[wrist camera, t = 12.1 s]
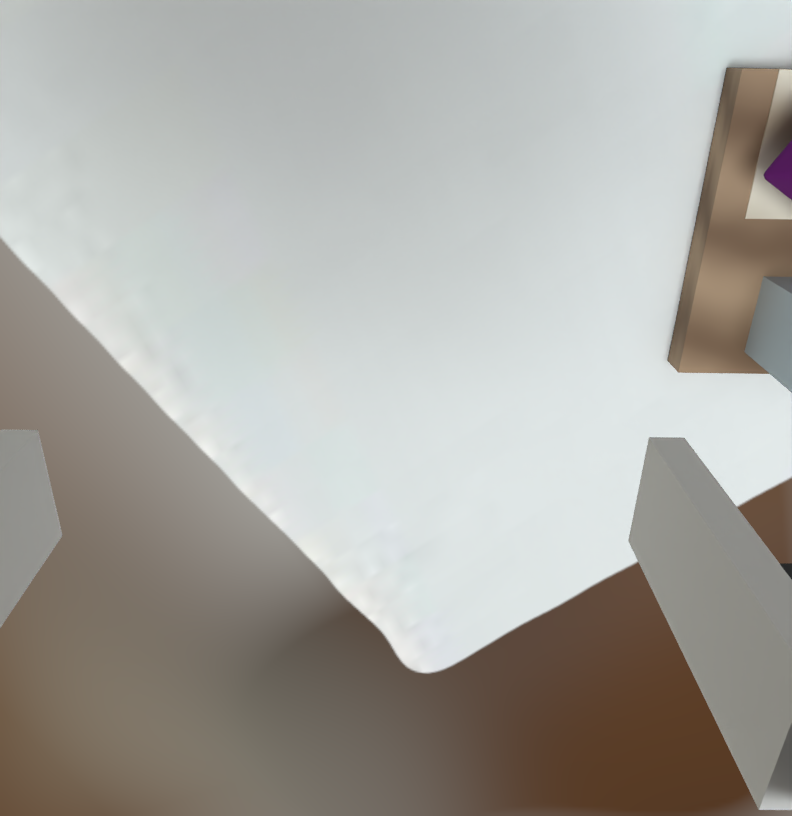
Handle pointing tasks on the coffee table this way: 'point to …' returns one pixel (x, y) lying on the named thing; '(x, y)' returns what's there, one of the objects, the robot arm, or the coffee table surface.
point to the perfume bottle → (781, 171)
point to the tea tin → (773, 329)
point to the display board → (736, 225)
